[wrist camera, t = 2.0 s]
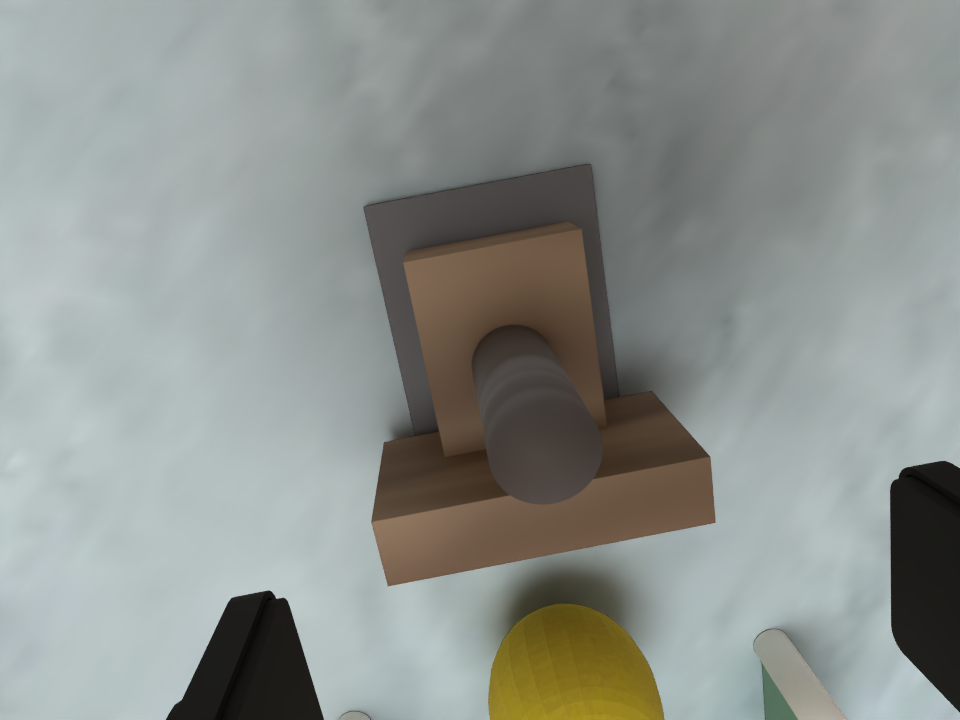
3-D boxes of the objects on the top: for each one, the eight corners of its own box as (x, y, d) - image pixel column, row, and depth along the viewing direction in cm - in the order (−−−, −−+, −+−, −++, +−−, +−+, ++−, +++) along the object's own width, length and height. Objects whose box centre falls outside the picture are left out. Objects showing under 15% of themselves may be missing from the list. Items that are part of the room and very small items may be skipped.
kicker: (340, 264, 21) (287, 334, 13) (632, 209, 21) (748, 246, 13) (397, 495, 23) (380, 667, 15) (657, 445, 23) (767, 592, 16)
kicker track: (364, 205, 21) (363, 207, 21) (588, 164, 21) (591, 164, 21) (445, 563, 25) (445, 569, 25) (632, 526, 25) (635, 532, 25)
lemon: (625, 554, 25) (708, 729, 18) (622, 674, 27) (697, 882, 19) (477, 565, 25) (497, 749, 17) (483, 687, 27) (504, 902, 19)
